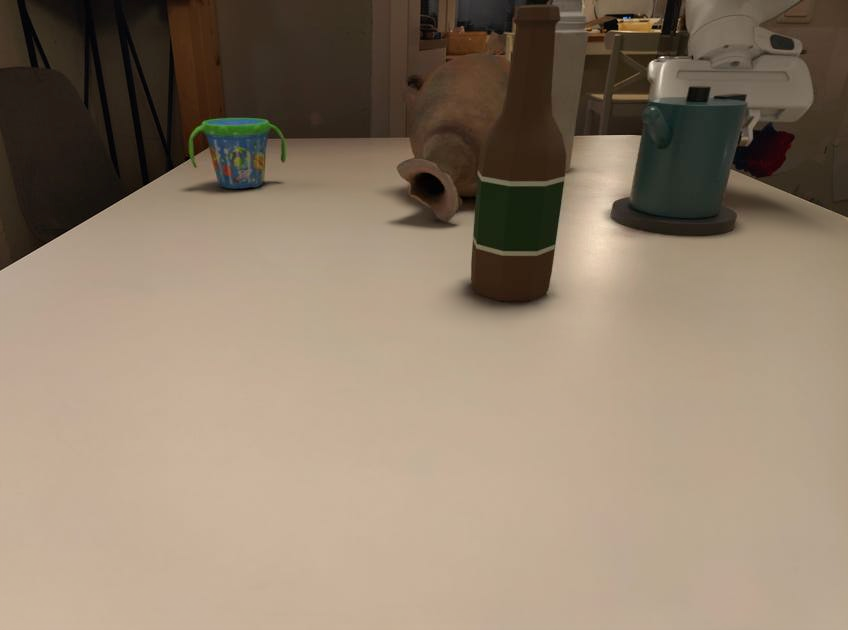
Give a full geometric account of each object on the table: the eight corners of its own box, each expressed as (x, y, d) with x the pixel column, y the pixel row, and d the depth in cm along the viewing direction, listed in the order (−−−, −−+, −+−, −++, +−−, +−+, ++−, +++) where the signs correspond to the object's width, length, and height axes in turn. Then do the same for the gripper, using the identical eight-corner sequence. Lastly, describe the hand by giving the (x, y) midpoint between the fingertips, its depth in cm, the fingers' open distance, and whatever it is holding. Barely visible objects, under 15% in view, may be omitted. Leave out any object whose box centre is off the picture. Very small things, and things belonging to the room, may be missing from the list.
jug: (453, 175, 109) (372, 248, 88) (429, 56, 99) (331, 108, 79) (569, 161, 97) (507, 241, 77) (555, 25, 88) (479, 77, 68)
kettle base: (709, 207, 87) (712, 196, 87) (753, 237, 74) (757, 225, 74) (600, 204, 89) (602, 194, 88) (624, 233, 76) (626, 221, 75)
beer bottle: (555, 281, 62) (594, 5, 50) (540, 308, 55) (581, 1, 44) (480, 270, 65) (501, 8, 53) (458, 296, 58) (476, 4, 47)
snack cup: (285, 176, 109) (280, 115, 104) (292, 189, 100) (288, 122, 95) (194, 181, 106) (185, 118, 101) (193, 195, 97) (184, 126, 92)
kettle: (682, 189, 90) (707, 80, 84) (758, 203, 82) (793, 84, 75) (590, 209, 80) (609, 88, 73) (667, 228, 72) (697, 94, 65)
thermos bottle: (515, 168, 113) (533, -8, 100) (542, 163, 118) (562, -6, 105) (552, 175, 108) (575, -10, 95) (578, 169, 112) (604, -9, 99)
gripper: (654, 39, 84) (658, 126, 80) (814, 40, 82) (826, 130, 78) (639, 72, 90) (641, 155, 86) (787, 74, 88) (797, 159, 84)
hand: (730, 143), depth 82 cm, fingers closed
